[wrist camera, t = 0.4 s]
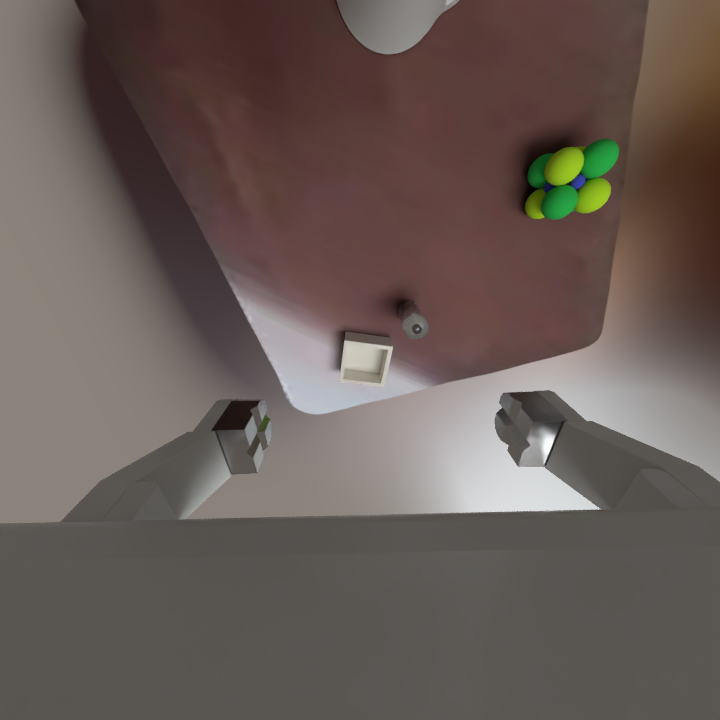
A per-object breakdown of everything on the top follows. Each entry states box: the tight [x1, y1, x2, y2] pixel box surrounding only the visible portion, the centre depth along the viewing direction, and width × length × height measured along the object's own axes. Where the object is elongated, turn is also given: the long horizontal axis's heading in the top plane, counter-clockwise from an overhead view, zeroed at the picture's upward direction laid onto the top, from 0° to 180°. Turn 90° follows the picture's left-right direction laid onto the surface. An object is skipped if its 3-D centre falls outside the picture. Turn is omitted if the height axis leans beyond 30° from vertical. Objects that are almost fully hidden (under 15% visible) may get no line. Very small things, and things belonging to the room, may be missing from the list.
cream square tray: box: [339, 332, 393, 387], centre depth 57 cm, size 10×10×4 cm
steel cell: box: [398, 301, 429, 339], centre depth 50 cm, size 4×4×10 cm
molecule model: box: [525, 139, 619, 220], centre depth 40 cm, size 9×9×9 cm
